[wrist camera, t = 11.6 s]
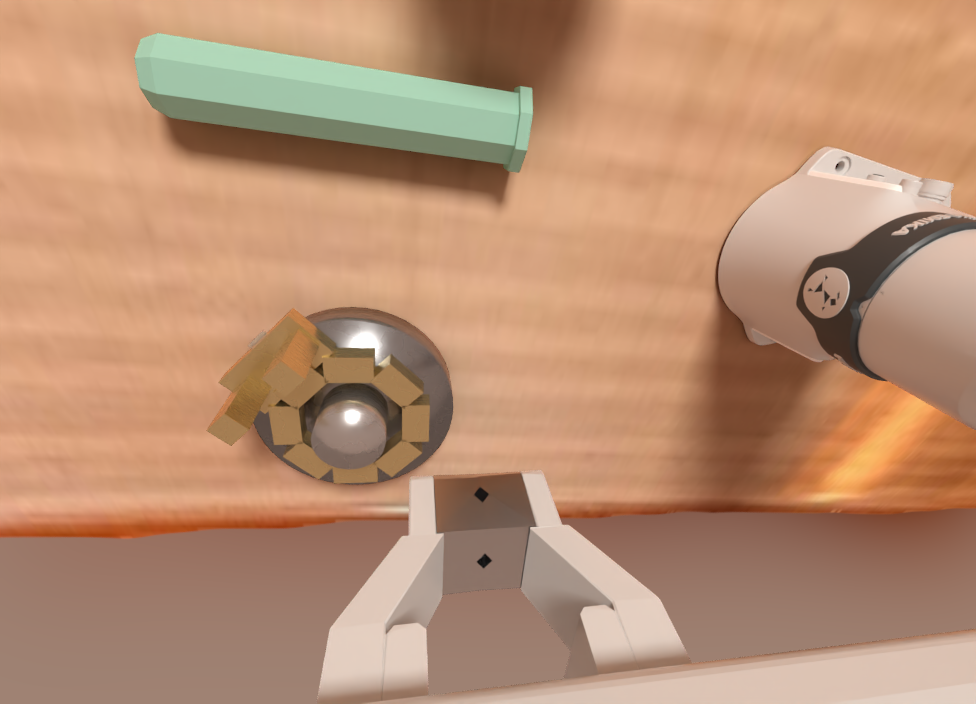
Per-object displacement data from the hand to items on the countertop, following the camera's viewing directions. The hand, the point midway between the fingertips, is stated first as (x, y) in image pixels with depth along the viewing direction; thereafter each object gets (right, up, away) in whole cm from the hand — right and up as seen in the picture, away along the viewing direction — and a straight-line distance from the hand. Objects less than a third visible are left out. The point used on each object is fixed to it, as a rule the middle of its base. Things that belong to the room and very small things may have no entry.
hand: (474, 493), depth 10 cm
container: (-10, +22, +23) cm, 33 cm away
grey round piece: (-12, -1, +34) cm, 36 cm away
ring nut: (-13, -1, +30) cm, 33 cm away
